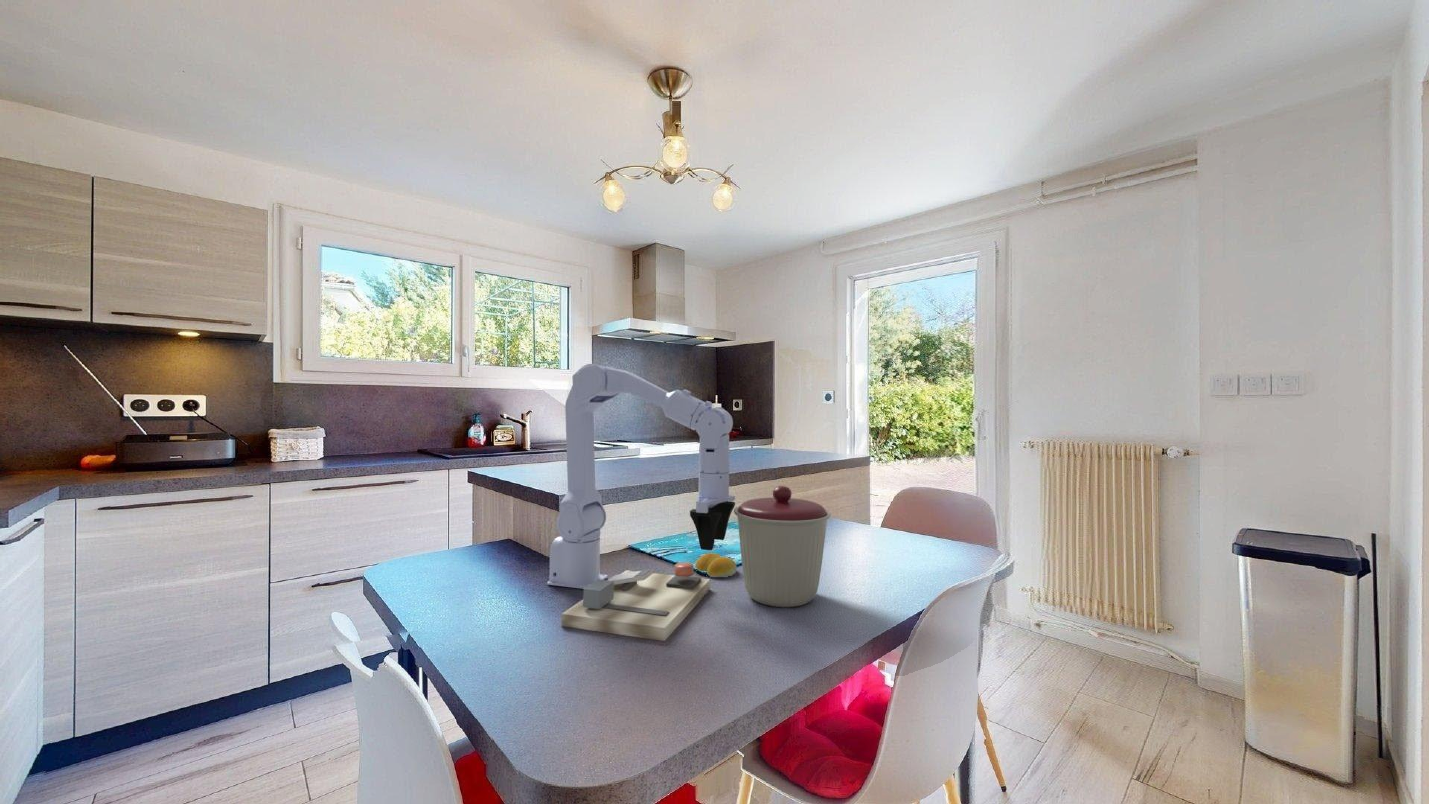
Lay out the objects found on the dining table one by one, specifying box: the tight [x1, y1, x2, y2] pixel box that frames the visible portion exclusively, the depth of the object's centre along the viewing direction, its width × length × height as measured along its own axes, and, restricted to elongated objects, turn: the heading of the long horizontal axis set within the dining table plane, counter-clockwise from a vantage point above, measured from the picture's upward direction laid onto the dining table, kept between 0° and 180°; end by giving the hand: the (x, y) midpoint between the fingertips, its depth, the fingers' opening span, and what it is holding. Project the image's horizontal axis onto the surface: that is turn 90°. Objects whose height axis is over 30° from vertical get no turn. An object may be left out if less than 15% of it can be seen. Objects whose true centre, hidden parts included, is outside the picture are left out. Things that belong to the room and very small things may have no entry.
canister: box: [733, 485, 832, 608], centre depth 102 cm, size 18×18×21 cm
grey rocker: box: [606, 568, 654, 585], centre depth 100 cm, size 8×4×1 cm, turn 74°
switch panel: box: [560, 569, 711, 642], centre depth 96 cm, size 18×24×3 cm
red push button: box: [674, 562, 695, 577], centre depth 103 cm, size 4×4×2 cm
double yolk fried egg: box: [694, 552, 737, 578], centre depth 117 cm, size 8×9×4 cm
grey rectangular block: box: [582, 579, 614, 609], centre depth 91 cm, size 3×5×3 cm, turn 164°
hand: (712, 544), depth 101 cm, fingers open, 7 cm apart
